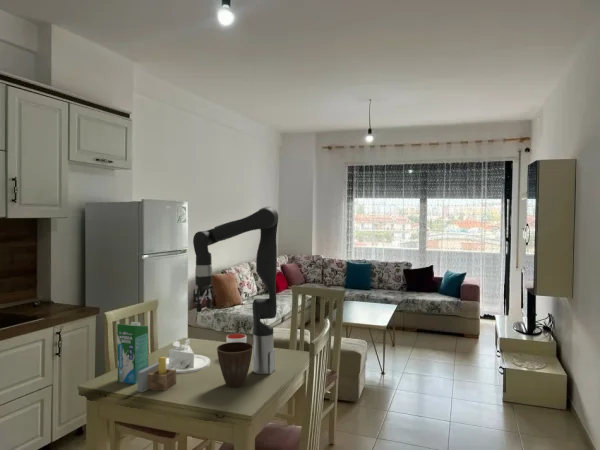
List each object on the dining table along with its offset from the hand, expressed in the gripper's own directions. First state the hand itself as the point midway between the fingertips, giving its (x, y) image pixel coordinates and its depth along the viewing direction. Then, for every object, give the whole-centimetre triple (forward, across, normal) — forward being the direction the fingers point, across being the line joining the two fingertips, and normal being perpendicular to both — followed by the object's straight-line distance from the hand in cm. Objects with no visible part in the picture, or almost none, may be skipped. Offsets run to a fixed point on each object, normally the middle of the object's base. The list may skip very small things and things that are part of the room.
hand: (204, 309), depth 206 cm
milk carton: (+28, +19, -24) cm, 42 cm away
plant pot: (+28, +11, +21) cm, 37 cm away
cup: (+28, -25, +4) cm, 38 cm away
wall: (+28, +22, -12) cm, 38 cm away
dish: (+29, -5, -14) cm, 32 cm away
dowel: (+28, +22, -7) cm, 36 cm away
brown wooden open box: (+28, +22, -7) cm, 36 cm away
